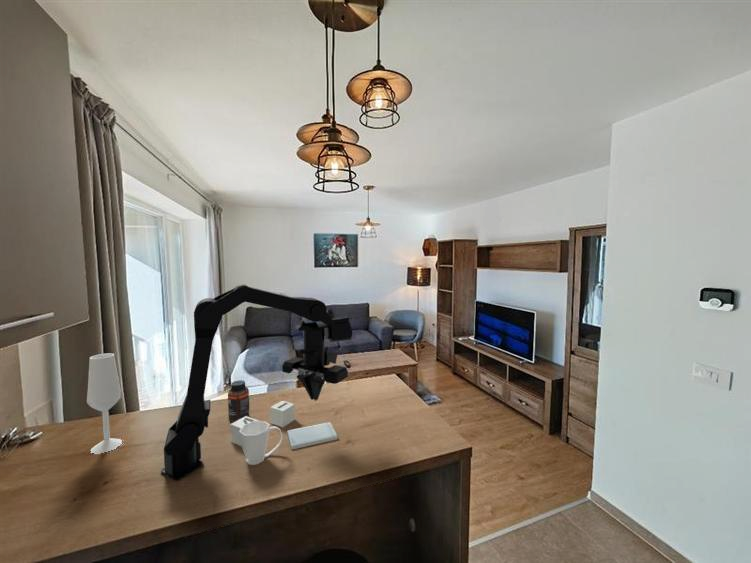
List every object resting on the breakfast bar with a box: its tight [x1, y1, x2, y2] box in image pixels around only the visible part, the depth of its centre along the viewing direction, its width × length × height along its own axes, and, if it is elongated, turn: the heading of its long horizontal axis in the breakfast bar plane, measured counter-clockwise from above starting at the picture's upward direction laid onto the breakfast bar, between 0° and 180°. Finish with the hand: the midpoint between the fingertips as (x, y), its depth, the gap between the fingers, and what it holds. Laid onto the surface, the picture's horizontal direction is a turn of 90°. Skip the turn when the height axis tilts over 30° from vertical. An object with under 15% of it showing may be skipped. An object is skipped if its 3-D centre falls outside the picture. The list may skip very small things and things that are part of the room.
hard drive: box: [286, 421, 339, 451], centre depth 87 cm, size 2×8×12 cm
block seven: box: [230, 416, 260, 447], centre depth 85 cm, size 5×5×5 cm
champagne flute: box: [86, 352, 123, 455], centre depth 81 cm, size 7×7×24 cm
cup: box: [239, 420, 284, 466], centre depth 77 cm, size 7×10×8 cm
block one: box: [269, 400, 296, 428], centre depth 95 cm, size 5×5×5 cm
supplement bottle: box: [227, 379, 251, 423], centre depth 96 cm, size 6×6×11 cm
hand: (314, 399), depth 87 cm, fingers closed
